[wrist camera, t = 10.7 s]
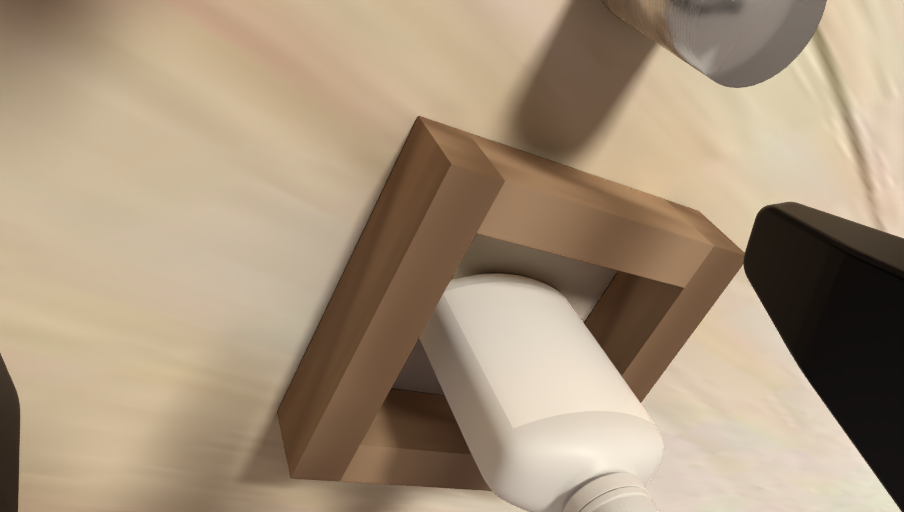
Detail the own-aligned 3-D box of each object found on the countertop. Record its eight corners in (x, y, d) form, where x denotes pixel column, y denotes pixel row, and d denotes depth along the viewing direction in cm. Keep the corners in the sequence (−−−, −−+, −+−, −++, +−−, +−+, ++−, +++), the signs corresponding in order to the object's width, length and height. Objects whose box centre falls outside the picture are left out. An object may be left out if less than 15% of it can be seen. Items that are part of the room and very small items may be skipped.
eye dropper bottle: (484, 229, 26) (680, 528, 17) (575, 302, 29) (780, 582, 20) (395, 316, 27) (534, 645, 18) (494, 377, 30) (653, 678, 21)
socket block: (277, 412, 27) (290, 478, 25) (418, 115, 23) (451, 163, 20) (541, 440, 33) (572, 495, 31) (698, 211, 29) (749, 256, 26)
